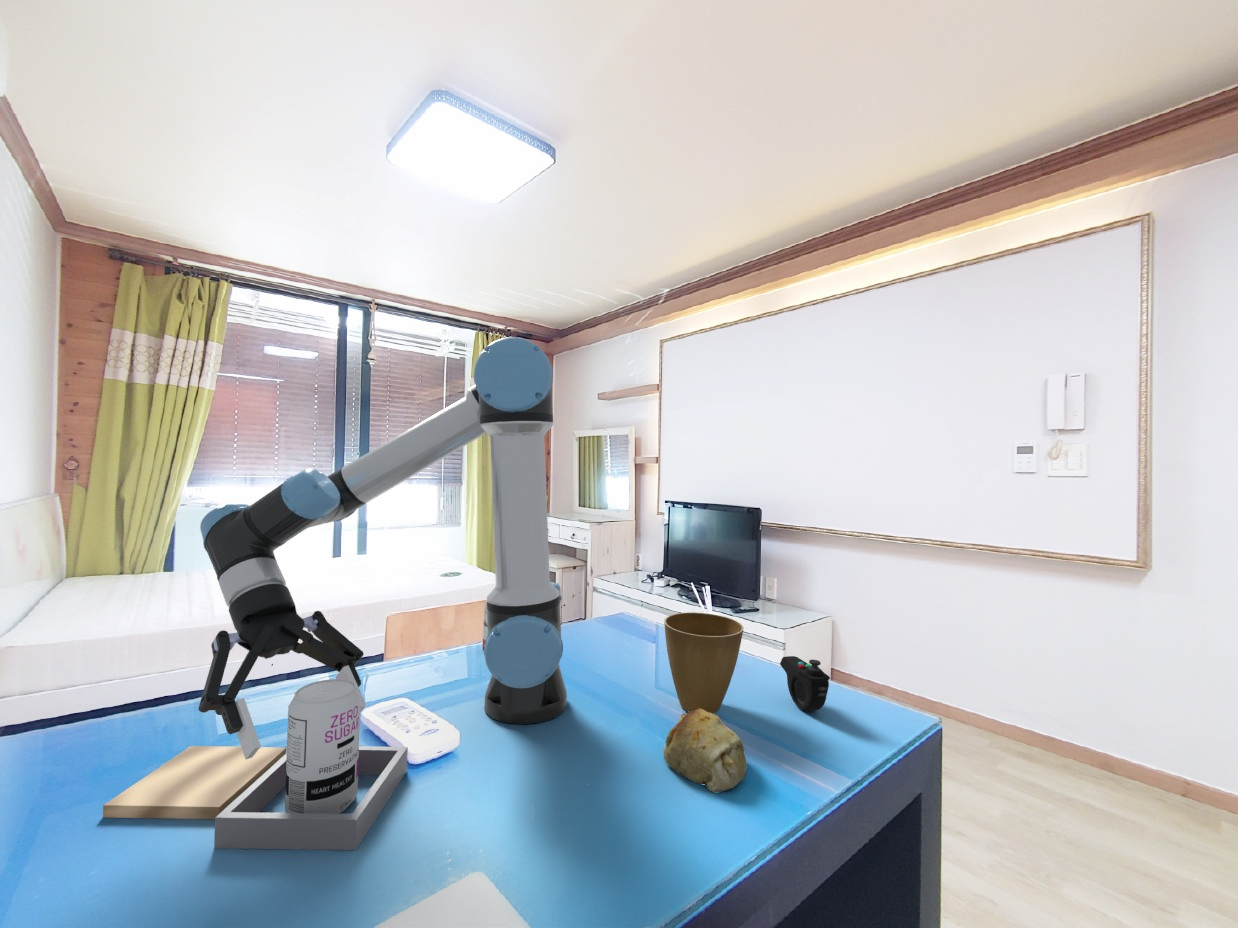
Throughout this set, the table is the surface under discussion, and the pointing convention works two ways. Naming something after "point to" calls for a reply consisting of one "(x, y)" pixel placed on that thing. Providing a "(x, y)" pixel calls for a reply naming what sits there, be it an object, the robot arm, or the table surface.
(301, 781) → the supplement can
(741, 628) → the plant pot
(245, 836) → the bin
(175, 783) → the pad
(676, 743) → the pastry
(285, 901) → the table surface
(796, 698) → the controller
